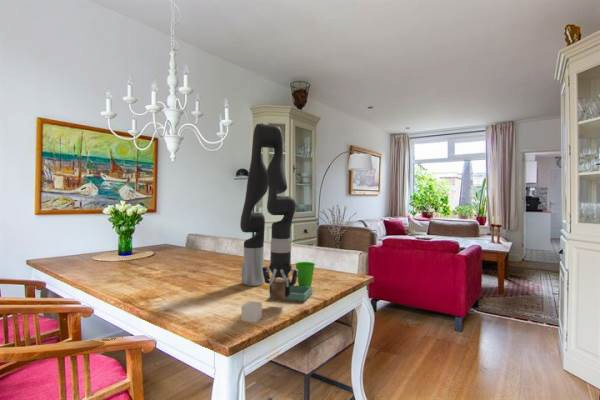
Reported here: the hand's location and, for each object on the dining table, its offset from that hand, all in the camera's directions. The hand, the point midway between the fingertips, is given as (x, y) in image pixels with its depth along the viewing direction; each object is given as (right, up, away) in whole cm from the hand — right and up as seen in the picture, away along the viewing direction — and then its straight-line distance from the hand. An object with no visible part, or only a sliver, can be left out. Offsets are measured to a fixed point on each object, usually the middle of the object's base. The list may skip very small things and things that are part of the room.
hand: (280, 295), depth 120 cm
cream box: (-9, -4, -12) cm, 16 cm away
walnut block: (0, -1, 0) cm, 1 cm away
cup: (+10, -4, +24) cm, 26 cm away
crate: (+4, -4, +12) cm, 13 cm away
